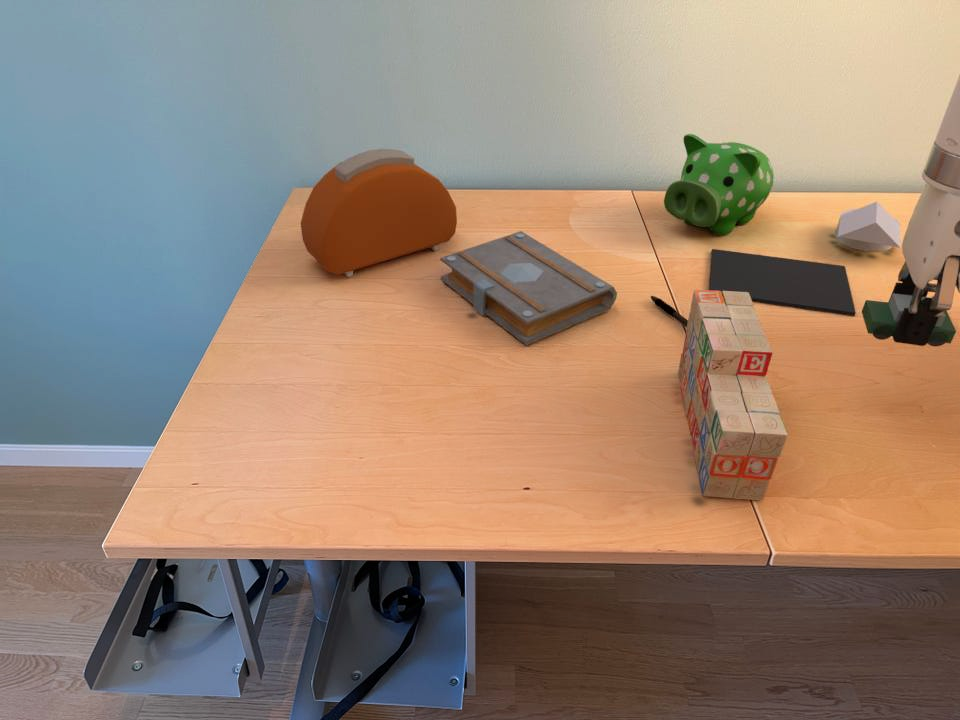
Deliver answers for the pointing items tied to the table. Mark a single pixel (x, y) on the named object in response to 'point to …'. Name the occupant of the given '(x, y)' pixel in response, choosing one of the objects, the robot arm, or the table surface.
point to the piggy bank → (719, 185)
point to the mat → (783, 281)
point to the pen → (669, 310)
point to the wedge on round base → (869, 229)
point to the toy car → (887, 315)
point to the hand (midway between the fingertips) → (904, 327)
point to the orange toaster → (375, 212)
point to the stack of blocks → (729, 396)
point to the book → (527, 286)
